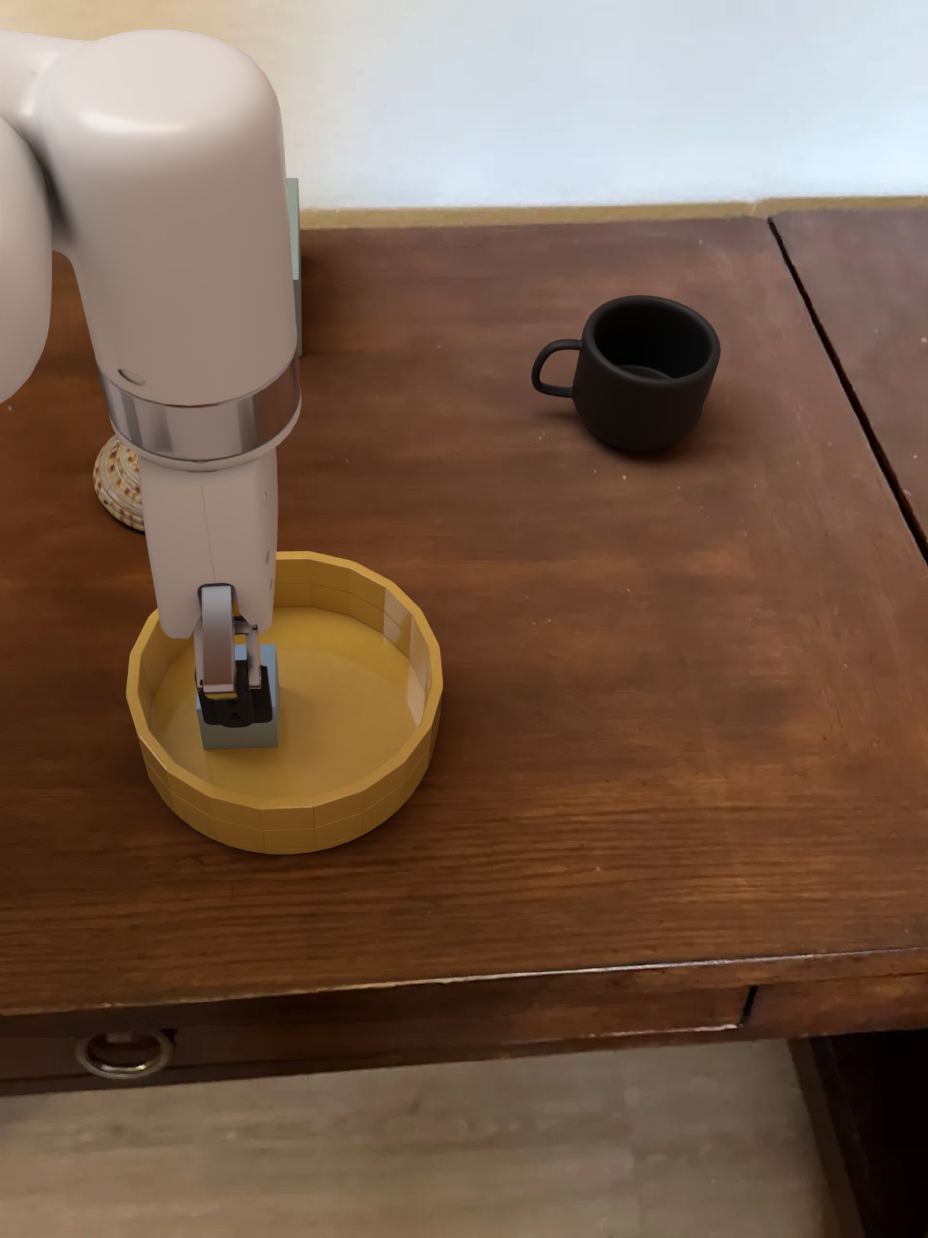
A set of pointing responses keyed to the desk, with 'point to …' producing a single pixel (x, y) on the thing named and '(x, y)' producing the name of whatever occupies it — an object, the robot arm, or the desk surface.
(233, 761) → the bowl
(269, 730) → the toy blue
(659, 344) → the mug
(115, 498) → the seashell
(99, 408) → the desk surface
